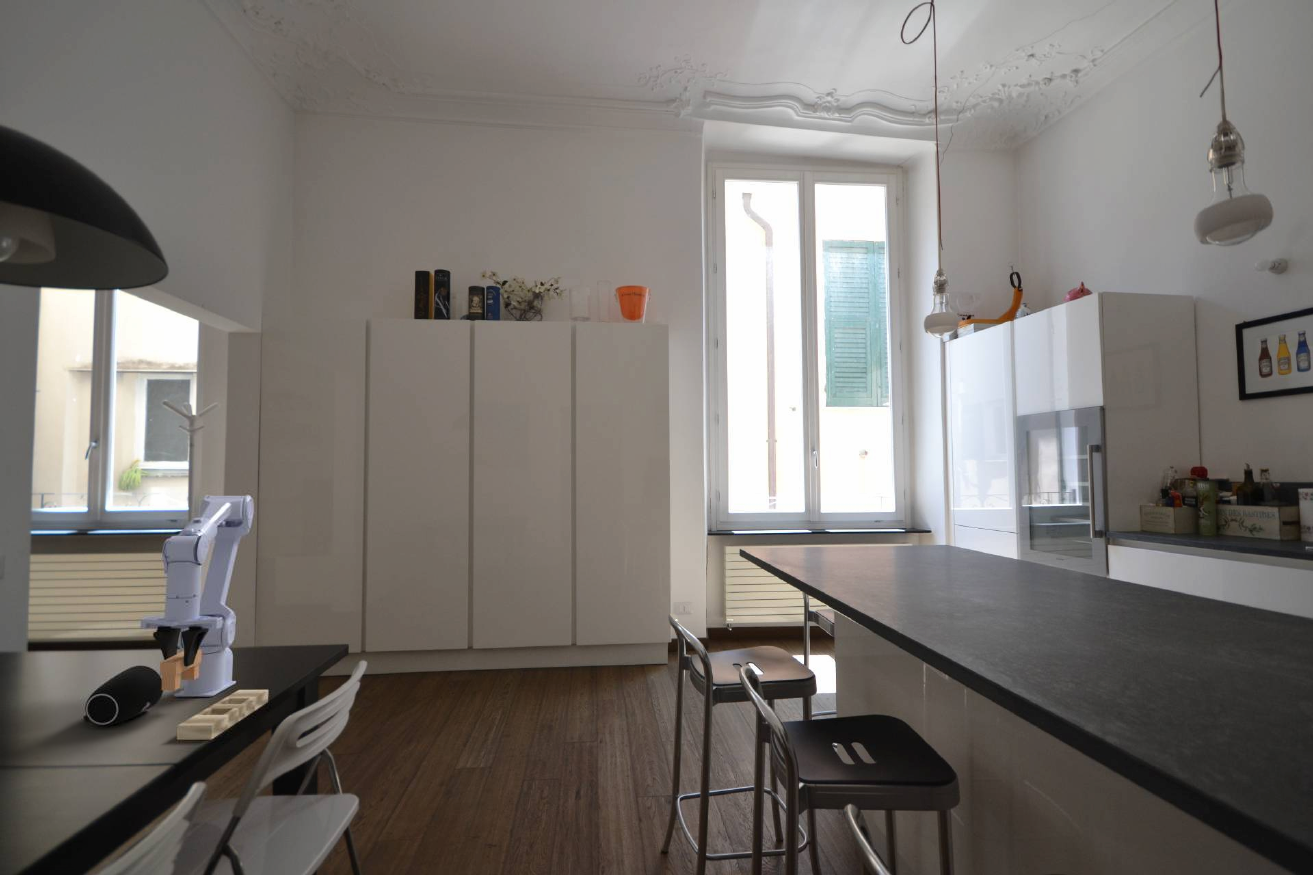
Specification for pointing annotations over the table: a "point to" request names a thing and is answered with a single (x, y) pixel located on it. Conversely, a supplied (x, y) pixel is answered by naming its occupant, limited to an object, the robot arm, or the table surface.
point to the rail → (222, 715)
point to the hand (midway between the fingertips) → (179, 664)
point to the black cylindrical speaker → (124, 696)
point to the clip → (178, 670)
